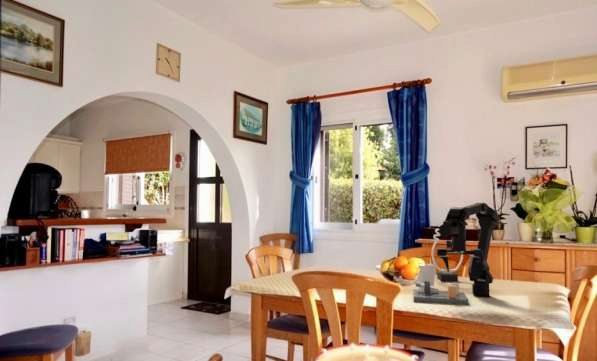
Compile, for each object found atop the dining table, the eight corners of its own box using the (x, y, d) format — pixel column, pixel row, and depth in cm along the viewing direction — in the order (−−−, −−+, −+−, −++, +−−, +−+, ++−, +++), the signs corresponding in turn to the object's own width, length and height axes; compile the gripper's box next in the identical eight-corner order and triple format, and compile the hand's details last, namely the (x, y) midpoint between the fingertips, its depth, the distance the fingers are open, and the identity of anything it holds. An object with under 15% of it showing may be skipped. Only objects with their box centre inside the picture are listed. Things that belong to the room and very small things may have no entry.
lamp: (460, 278, 239) (459, 221, 240) (465, 281, 230) (464, 222, 231) (429, 278, 240) (429, 221, 241) (433, 281, 231) (432, 221, 233)
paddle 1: (458, 292, 193) (458, 281, 194) (459, 294, 191) (459, 282, 191) (451, 292, 194) (451, 281, 194) (451, 293, 191) (451, 282, 192)
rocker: (437, 290, 196) (438, 287, 196) (438, 292, 192) (439, 289, 192) (415, 284, 199) (416, 281, 199) (415, 286, 195) (416, 283, 195)
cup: (436, 292, 205) (436, 266, 205) (417, 291, 206) (416, 265, 207) (434, 288, 213) (434, 263, 214) (415, 287, 215) (415, 263, 216)
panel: (463, 296, 195) (463, 282, 195) (468, 304, 180) (468, 289, 180) (413, 293, 201) (413, 280, 201) (413, 301, 185) (413, 287, 186)
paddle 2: (455, 296, 186) (455, 284, 186) (456, 297, 183) (456, 286, 184) (447, 295, 187) (447, 284, 187) (448, 297, 184) (448, 285, 184)
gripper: (477, 234, 194) (478, 270, 193) (433, 234, 197) (434, 268, 196) (483, 237, 183) (483, 274, 182) (437, 236, 186) (437, 273, 186)
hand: (459, 272), depth 187 cm, fingers open, 9 cm apart
